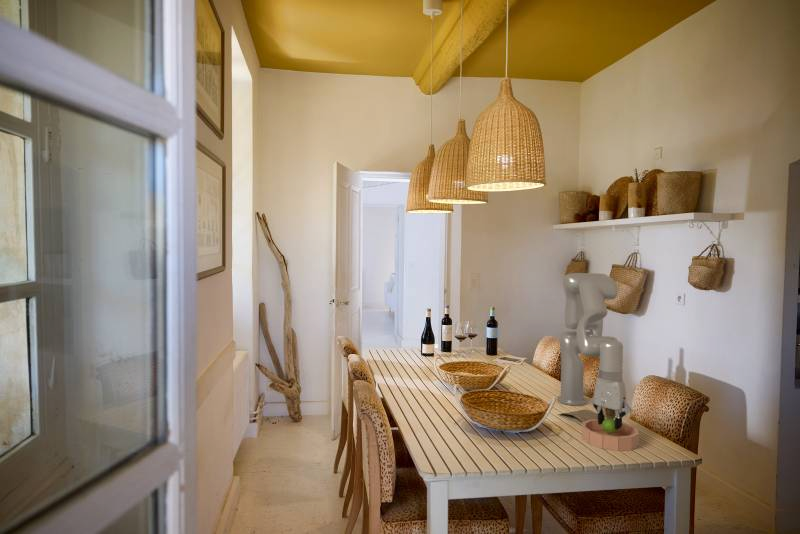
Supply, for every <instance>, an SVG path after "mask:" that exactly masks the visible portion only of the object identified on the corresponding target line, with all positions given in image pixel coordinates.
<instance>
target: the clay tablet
mask: <svg viewBox="0 0 800 534" xmlns="http://www.w3.org/2000/svg"><path fill="white" fill-rule="evenodd" d="M560 414H561V413H560ZM560 414H558V416H561V415H560ZM562 415H570V416H573V417H575V418H576V419H578V420H579V421H580V422H581V423H582V422H585V421H587V420H592V419H598V413H597V412H594V411H593V410H590V409H586V408H585V409H580V410H575V411H569V412H563V413H562Z"/></svg>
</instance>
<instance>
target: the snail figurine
mask: <svg viewBox="0 0 800 534" xmlns="http://www.w3.org/2000/svg"><path fill="white" fill-rule="evenodd" d="M601 402H603V405H602V410H603V414H604V417H605V420H604V421H603V422H602V428H603V430H604V431H605V432H606V433H608V434H614V433H616V432H617V430H618V429H615V418H616V413H615V410H612V409H608V408H605V406H604V401H601Z"/></svg>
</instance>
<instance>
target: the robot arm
mask: <svg viewBox="0 0 800 534" xmlns="http://www.w3.org/2000/svg"><path fill="white" fill-rule="evenodd" d="M562 287H563V291H564V294H565V306H564V307H565V309H564V325H565V327H566V328H567V329H570V331H569V330H567V331H563V332H562V333H561V334H560V335H559V338H558V339H559V348H560V361H561V362H560V366H561V367H560V395H558V396H557V397H556V401H557V402H558V403H560V404H563V405H565V406H574V407H575V406H579V407H581V406H585V405H587V402H588V401H587V399H586V398H585V397H584V396H586V395H588V391H587V390H585V389H584V371H585V370H584V368H585V367H584V366H585V365H584V364H585V363H584V361H583V359H582V358H581V357H580V356H579V354H582V355H583V356H584V357H589V358H590V357H592V358H593V357H594V358H595V357H596V358H597V357H598V358H599V368H598V369H596V370H595V372H596V373H595V374H598V377H596V380H595V385H594V390H593V396H592V397H591V398H590V399H589V402H590V403H591V405H592V406H593V408H594V409H595V411H596V412H595V413H597V414H598V424H602V422H603V421H604V420H605V419H606V418H605V417H604V414H603V410H602V405H603V402H601V401H604V406H605V408H608V409H612V410H615V413H616V414H615V415H616V416H615V418H614V420H615V429H619V428H621V426H622V422H623V418H624V416H626V415H628V414H629V413H631V412H632V410H633V409H632V408H631V406H630V405H629V403H628V402H627V392H626V385H625V380H623V367H624V366H623V365H624V364H623V363H624V360H623V359H624V345H623V342H621V341H619V340H618V338H617V337H614V336H607V335H606V336H603V330H604V329H603V328H604V318H606V317H607V315H608V311H609V310H608V308H607V304H606V301H607V300H615V299H616V298H617V297H618V294H619V288H618V284H617V283H616V280H614V278H612V277H611V276H608V275H607V274H605V273H597V272H595V273H591V272H587V273H585V272H573V273H567V274H565V276H564V277H563V280H562ZM588 330H589V331H588ZM623 409H624V410H623Z"/></svg>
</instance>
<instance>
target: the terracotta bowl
mask: <svg viewBox="0 0 800 534" xmlns="http://www.w3.org/2000/svg"><path fill="white" fill-rule="evenodd" d="M581 440H582V441H584V442H585V443H587V444H588V445H590V446H593V447H595V448H599V449H603V450H607V449H608V451H615V452H621V451H622V452H624V451H625V452H626V451H633V450H635V449H637V448H639V445H640V432H639V429H638V428H636V427H635V426H633V425H631V424H629V423H625V422H623V421H622V426H621V428H619V429H618V430H617V432H616V433H614V434H608V433H606V432H605V431H604V430H603V428H602V424H598V419H592V420H587V421H585V422H582V421H581Z"/></svg>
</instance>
